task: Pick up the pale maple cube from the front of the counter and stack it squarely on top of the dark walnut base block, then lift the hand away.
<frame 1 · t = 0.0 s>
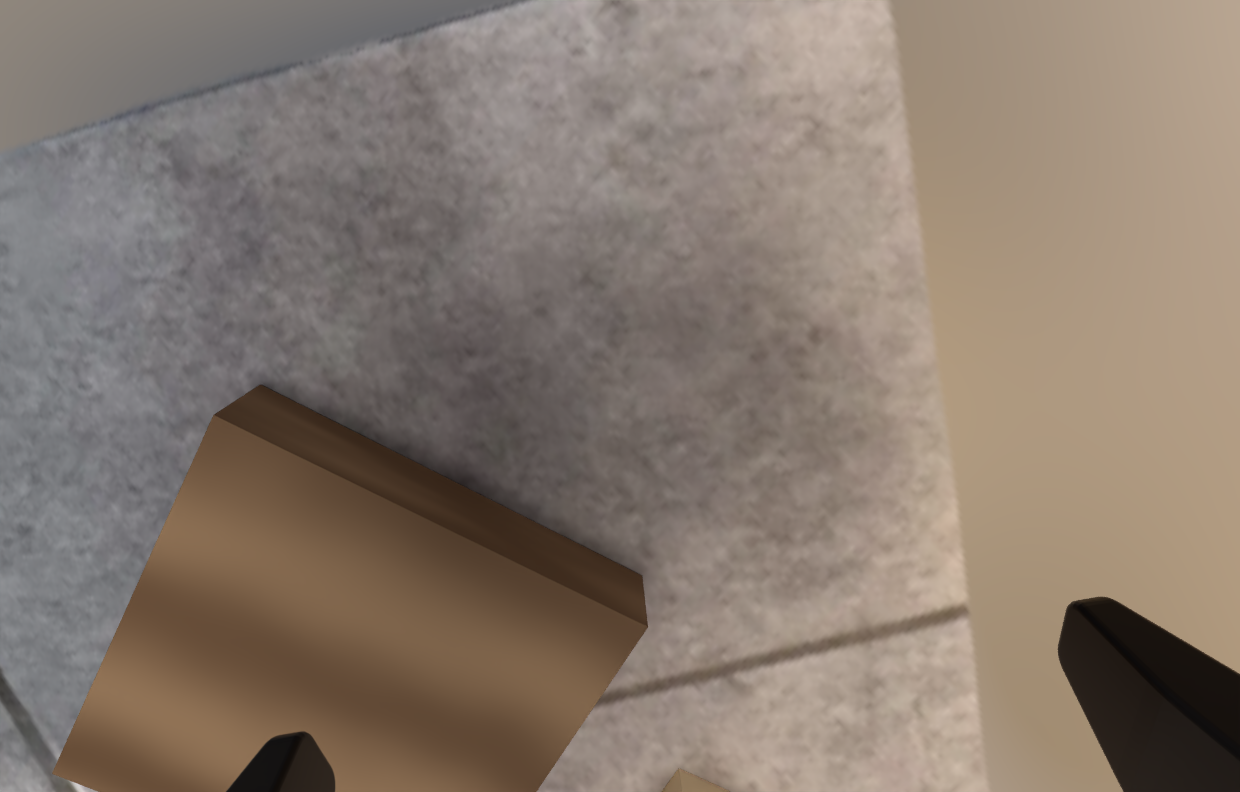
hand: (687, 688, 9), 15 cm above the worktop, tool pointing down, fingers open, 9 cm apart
walnut base: (371, 643, 26), on the worktop
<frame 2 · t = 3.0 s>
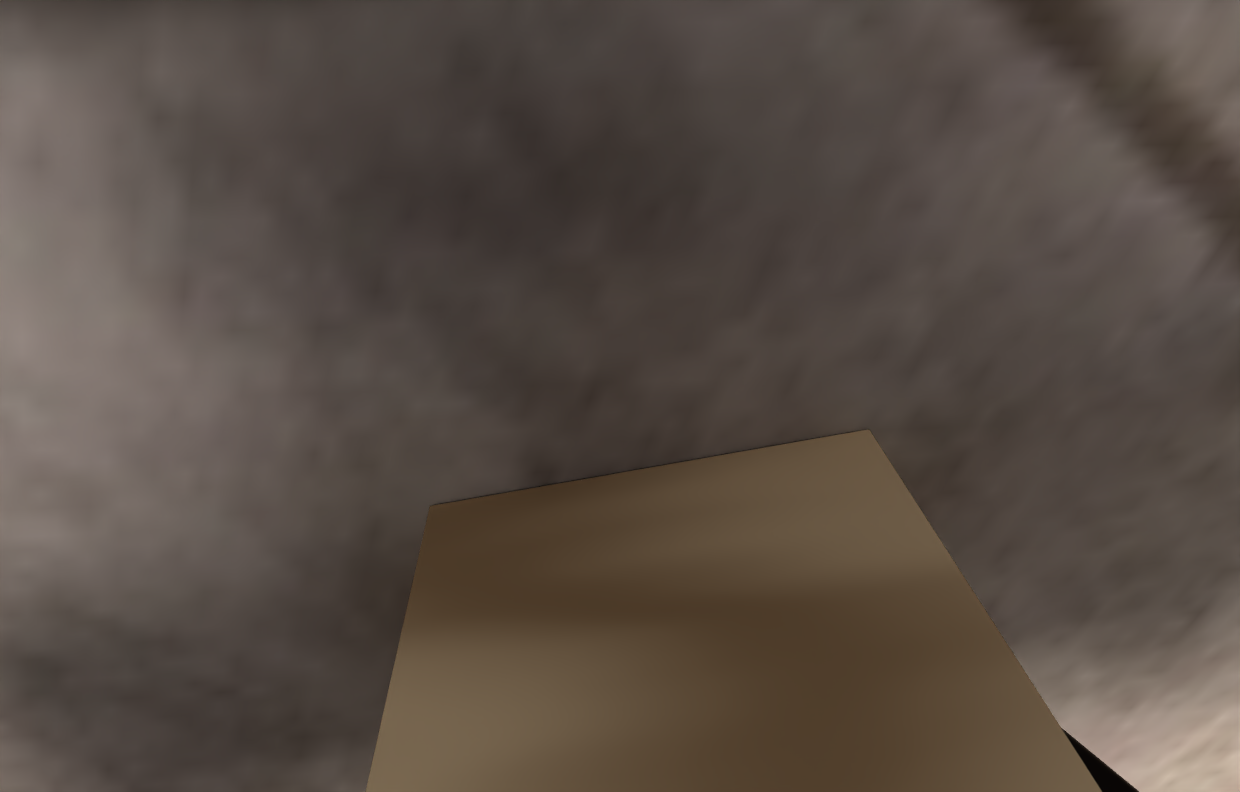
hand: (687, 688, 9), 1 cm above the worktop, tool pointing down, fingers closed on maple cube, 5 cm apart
maple cube: (674, 619, 10), on the worktop, touching gripper
when the fingers open (5 cm above the worktop, at t = 7.2 s): maple cube drops 1 cm, resting on walnut base.
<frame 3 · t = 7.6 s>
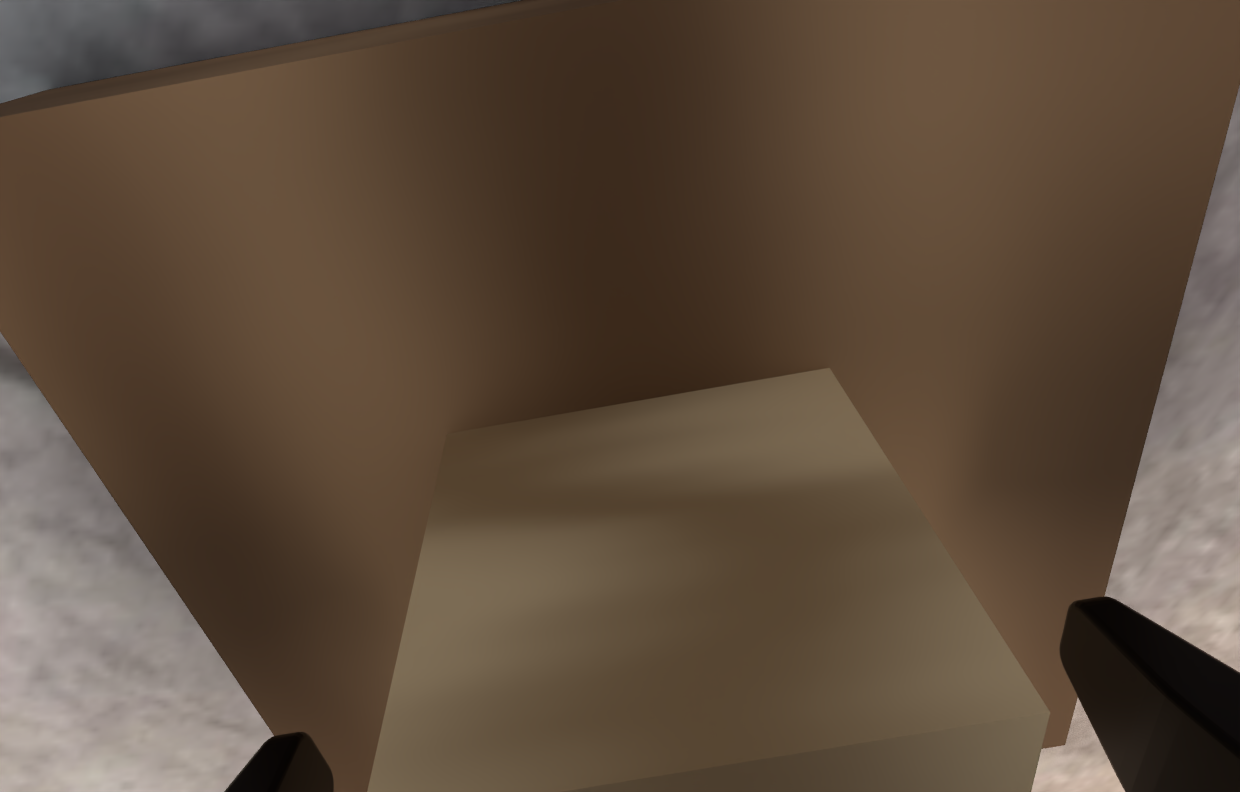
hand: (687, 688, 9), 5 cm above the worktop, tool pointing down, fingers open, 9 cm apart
maple cube: (661, 543, 11), point 3 cm above the worktop, touching walnut base
walnut base: (641, 426, 13), on the worktop
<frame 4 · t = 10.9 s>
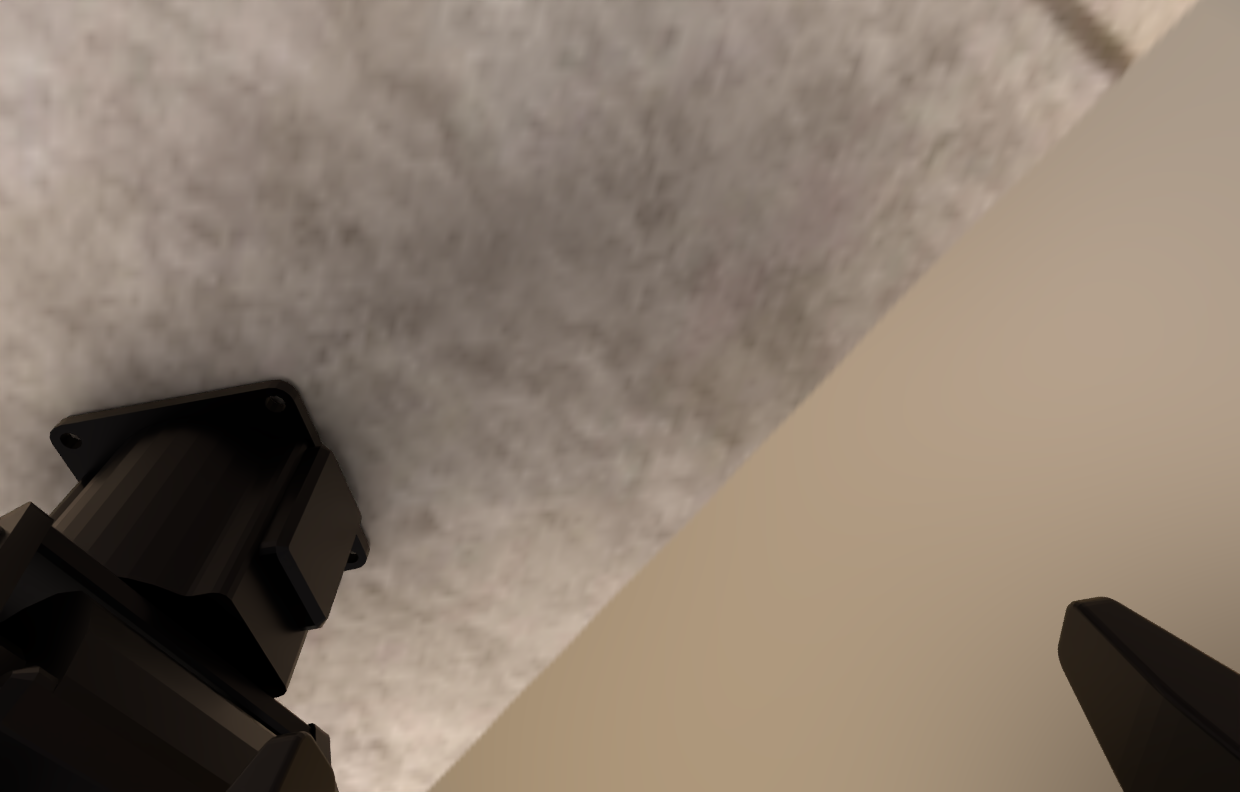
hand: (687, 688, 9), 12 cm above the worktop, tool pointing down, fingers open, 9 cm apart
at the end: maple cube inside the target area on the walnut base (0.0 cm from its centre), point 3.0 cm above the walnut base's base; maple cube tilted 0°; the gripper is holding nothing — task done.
